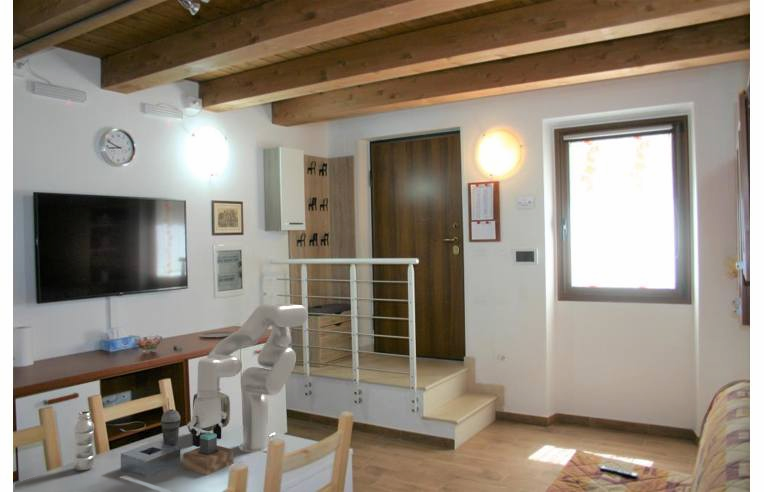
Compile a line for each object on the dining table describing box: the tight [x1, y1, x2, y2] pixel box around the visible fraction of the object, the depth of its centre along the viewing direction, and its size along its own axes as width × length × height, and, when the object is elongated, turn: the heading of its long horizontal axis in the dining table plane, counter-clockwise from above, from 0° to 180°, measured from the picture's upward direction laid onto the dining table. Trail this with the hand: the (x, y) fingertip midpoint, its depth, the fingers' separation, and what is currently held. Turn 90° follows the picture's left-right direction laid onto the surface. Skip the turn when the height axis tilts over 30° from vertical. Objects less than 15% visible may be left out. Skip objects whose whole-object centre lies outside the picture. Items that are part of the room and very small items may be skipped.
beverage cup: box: [160, 397, 182, 448], centre depth 217 cm, size 7×7×20 cm
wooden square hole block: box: [182, 445, 234, 476], centre depth 200 cm, size 12×12×6 cm
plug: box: [199, 431, 218, 456], centre depth 200 cm, size 4×4×11 cm
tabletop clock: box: [192, 391, 231, 434], centre depth 234 cm, size 14×9×25 cm, turn 50°
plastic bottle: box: [73, 411, 95, 472], centre depth 198 cm, size 6×7×20 cm
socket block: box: [120, 441, 181, 477], centre depth 200 cm, size 14×14×6 cm
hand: (207, 442), depth 199 cm, fingers open, 9 cm apart
